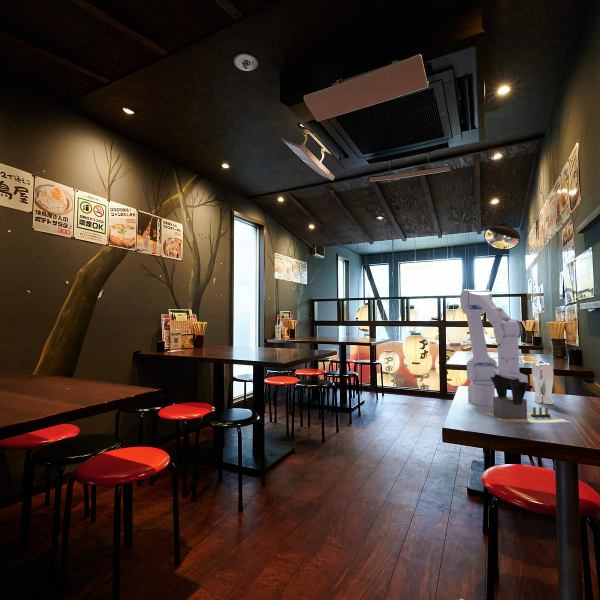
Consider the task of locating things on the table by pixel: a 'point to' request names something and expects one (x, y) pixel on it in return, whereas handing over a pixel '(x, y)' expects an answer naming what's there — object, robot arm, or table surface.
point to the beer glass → (543, 382)
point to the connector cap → (509, 408)
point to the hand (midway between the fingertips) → (509, 401)
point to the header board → (534, 417)
